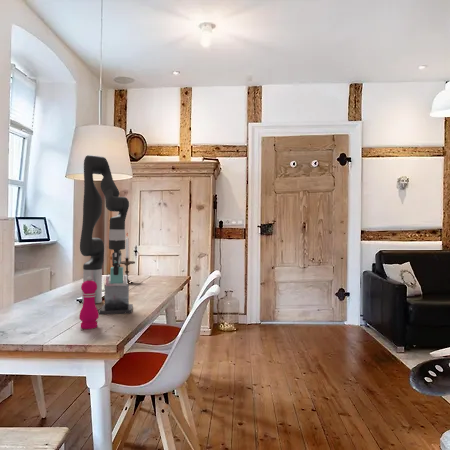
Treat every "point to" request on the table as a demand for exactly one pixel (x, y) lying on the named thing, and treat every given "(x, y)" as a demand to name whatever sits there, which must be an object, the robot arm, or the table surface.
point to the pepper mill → (89, 305)
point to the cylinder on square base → (116, 298)
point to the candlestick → (127, 259)
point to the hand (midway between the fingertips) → (116, 273)
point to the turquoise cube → (116, 276)
